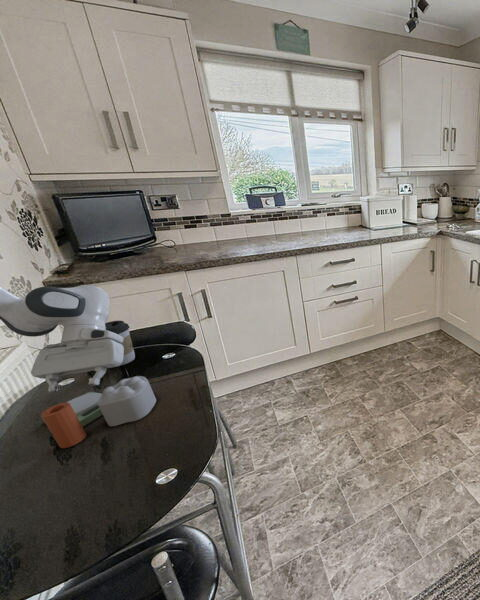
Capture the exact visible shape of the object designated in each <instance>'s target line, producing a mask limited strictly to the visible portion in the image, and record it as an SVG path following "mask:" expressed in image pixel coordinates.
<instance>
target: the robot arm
mask: <svg viewBox="0 0 480 600" xmlns="http://www.w3.org/2000/svg"><path fill="white" fill-rule="evenodd" d="M110 303H111V301H110V296H109V294H108V292H107V291H106V290H104V289H103V288H101V287H98V286H95V285H92V284H80V285H77V286H73V287H72V286H71V287H57V286H50V285H49V286H48V285H47V286H39V287H36V288H34V289H32V290H30V291H29V292H28V293H26V295H25V296H24V297H22V298H21V297H18V296H17V295H15V294H13V293H12V292H9V291H8V290H6V289H4V288H3V287H1V286H0V321H1V322H2V323H3V324H5V326H6V327H7V328H9V330H10V331H12V332H13V333H15V334H17V335H19V336H24V337H33V338H34V337H41V336H45V335H48V334H50V333H53V331H55V329H56V328H57V327H58V326H59V325H60V326H62V327H63V330H62V333H61V338H60V342H57V343H54V344H53V343H51V344H47V345H45V346H44V347H42V348H41V349H40V350H39V352H38V354H37V356H36V358H35V360H34V362H33V365H32V367H31V371H30V374H31V375H32V377H33V378H38V379H42V380H43V379H45V381H46V384H47V385H48V388H47V392H48V393H59V392H60V391H61V387H62V385H61V384H58V382H57V381H58V380H59V379H60V377H61V376H63V377H64V376H68V375H75V374H80V373H86V372H92V371H95V373H94V375H92V376H93V377H90V378H88V381H89V382H88V384H87V385H88V386H91V387H94V386H99V385H100V382H101V379H102V378H103V377H104V375H105V374H106V373H107V369H112V368H117V367H120V364H121V363H122V362H123V356H124V347H123V345H122V343H123V340H124V338H123V337H121V336H120V335H118V334H116V333H113V332H111V331H108V330H106V327H105V323H107V321H108V319H109V314H110Z"/></svg>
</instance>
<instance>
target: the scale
mask: <svg viewBox="0 0 480 600" xmlns="http://www.w3.org/2000/svg"><path fill="white" fill-rule="evenodd" d="M102 395H103V392H102V393H101V392H94V391H88V392H86V393H84V394H82V395H79V396H77V397H75V398H73V399H69V400H68V401H67V403H70V405H71V407H72V409H73V410H74V412H75V414H76V416H77V418H78V420H79V421H80V423H81V425H82V427H83V428H84V427H85V426H87V425H88V424H90V423H92V422H93V421H95V420H96V419H98V418H100V417H101V416H103V414H102V412H101V410H100V408H99V406H98V404H97V402H98V400H99V399H100V397H101V396H102ZM41 419H42V421H43V422H44V420H43V418H42V417H41Z"/></svg>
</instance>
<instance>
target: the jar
mask: <svg viewBox="0 0 480 600" xmlns="http://www.w3.org/2000/svg"><path fill="white" fill-rule="evenodd" d="M67 402H68V401H67ZM67 402H61V403H58V404H54V405H52V406H50V407H48V408H47V409H45V410H43V411H42V412H41V413H40V417H41V419H42V418H43V419H42V421H43V420H44V421H43V423H44V424H45V426H46V427H47V429H48V430H49V432H50V433H51V435H52V437H53V439H54V441H55V442H56V443H57V445H58V447H59V448H60V449H66V448H70V447H73V446H75V445H77V444H79V443H80V442H82V441H83V440H84V439H85V438H86V437H87V432H86V430H85V429H84V426H83V427H82V425H81V423H80V421H79V420H78V418H77V416H76V414H75V412H74V410H73V409H72V407H71V405H70V403H67Z"/></svg>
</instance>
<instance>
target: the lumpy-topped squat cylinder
mask: <svg viewBox="0 0 480 600" xmlns="http://www.w3.org/2000/svg"><path fill="white" fill-rule="evenodd" d="M102 394H103V395H102V396H101V397H100V399H99V400H98V402H97V404H98V406H99V408H100V410H101V412H102V414H103V415H102V416H103V418H104V420H105V421H106V423H107V426H109V427H116V426H119V425H122V424H125V423H131V422H137V421H139V420H141V419H143V418H144V417H146V416H147V415H148V414H149V413H150V412H151V411H152V409H153V408H154V406H155V405H156V403H157V398H156V395H155V394H154V391H153V389H152V387H151V384H150V382H149V380H148V379H147V378H146V376H141V375H136V376H131V377H127V378H123V379H121V380H119V381H118V382H117V383H116V384H114V385H111V386H107V387H105V388H104V389H103V391H102Z"/></svg>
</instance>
